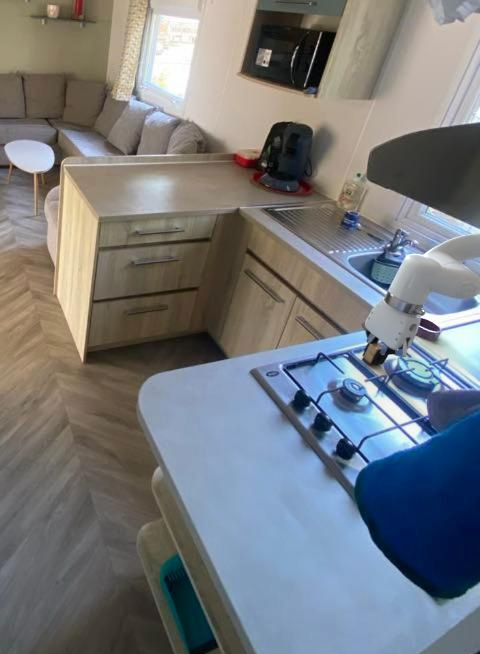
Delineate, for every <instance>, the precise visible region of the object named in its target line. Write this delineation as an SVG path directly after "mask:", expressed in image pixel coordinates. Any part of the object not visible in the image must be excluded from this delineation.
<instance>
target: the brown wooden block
mask: <svg viewBox="0 0 480 654" xmlns="http://www.w3.org/2000/svg"><path fill="white" fill-rule="evenodd" d="M383 344H384V343H383V342H378V343H376V344H370V345H369V347H368V349H367V351H366V353H365V355H364V357H363V356H362V358H361V362H363V363H364V364H365V365H366V366H367V367H372V366H373V367H374V365H373V364H372V361H373V359H374V357H375V355H376V354H377V352H380V350H381V348H382V346H383Z"/></svg>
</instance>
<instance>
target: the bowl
mask: <svg viewBox="0 0 480 654" xmlns="http://www.w3.org/2000/svg"><path fill="white" fill-rule="evenodd" d="M442 333H443V328H442V327H441V326H440V325H439V324H437V323H436V322H435V321H433V320H431V319H428V318H426V317H423V316H421V320H420V325H419V328H418V331H417V333H416V336H417V337H419V338H422V339H424V340H427V341H436V340H438V339H439V338H440V337H441V334H442Z"/></svg>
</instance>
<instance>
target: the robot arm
mask: <svg viewBox="0 0 480 654" xmlns="http://www.w3.org/2000/svg"><path fill="white" fill-rule="evenodd" d="M476 258H480V231H479V232H473V233H468V234H467V233H466V234H463V235H458V236H455V237H453V238H452V237H451V238H450V239H447V240H446V241H444V242H442V243H440V244H438V245H436V246H434V247H433V248H431V249H429V250H428V251H426V252H425V253H424V254H420V253H419V254H418V253H410V254H408V255H406V256H405V257H404V259H403V260H402V262H401V264H400V266H399V268H398V270H397V272H396V274H395V276H394V277H393V280H392V282H391V284H390V286H389V288H388V290H387V291H386V293H385V295H384V296H383V297H381V298H380V299H379V300H378V301H377V303H376V304H375V305H374V307H372V309H371V310H370V313H369V314H368V315H367V318H366V320H365V321H364V322H363V323H362V324H361V327H362V328H363V331H364V332H365V335H366V343H367V344H366V346H365V348H364V349H363V353H362V358H363V357H364V355H365V353H366V351H367V349H368V347H369V345H370V344H376V343H380V342H381V343H382V344H383V346H382V348H381V350H380V352H377V354H376V355H375V357H374V359H373V361H372V364H373V366H382V365H384V364H385V362H386V360H387V358H388V357H389V356H391V355H392V356H396V357H398V358H406V357H407V350H408V349H410V347H412V344H413V342H414V340H415V338H416V336H417V335H416V333H417V331H418V328H419V325H420V320H421V317H423V316H425V314H426V311H425V310H424V309H423V308H424V306H425V304H426V301H427V300H428V298H429V296H430V294H431V293H436V294H438V295H441V296H443V297H447V298H450V299H454V300H459V301H461V300H463V301H464V300H470V299H473V298H475V297H477V296H478V295H479V294H480V277H479V276H478V274H476V273H475V272H474V271H473V270H471V268H468V267H467V266H466V265H464V264H463V262H466V261H469V260H472V259H476Z"/></svg>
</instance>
